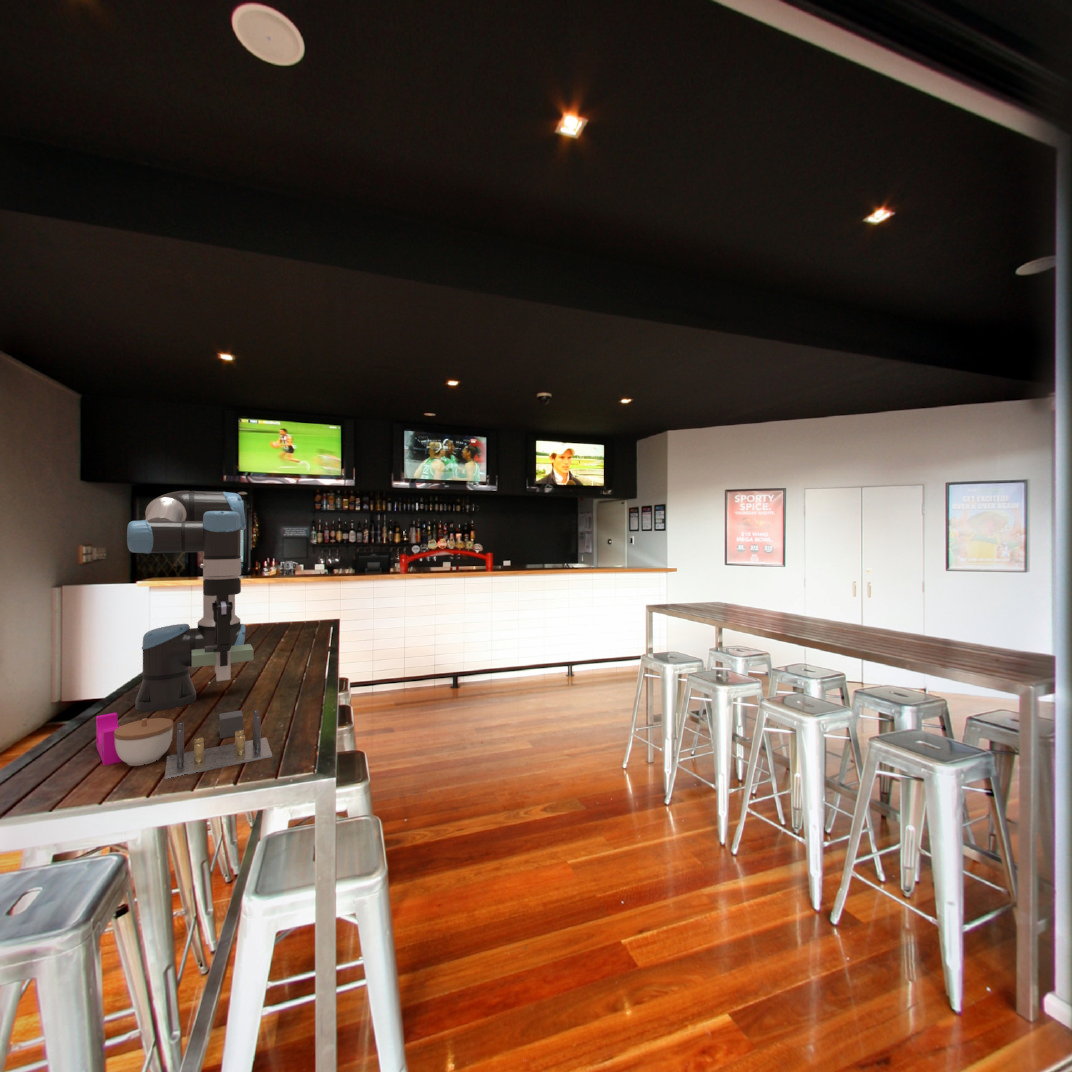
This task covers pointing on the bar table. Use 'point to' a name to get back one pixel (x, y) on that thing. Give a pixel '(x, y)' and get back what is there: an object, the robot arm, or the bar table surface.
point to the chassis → (217, 752)
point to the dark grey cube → (230, 723)
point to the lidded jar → (143, 740)
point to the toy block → (107, 738)
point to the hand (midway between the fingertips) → (222, 675)
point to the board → (209, 657)
